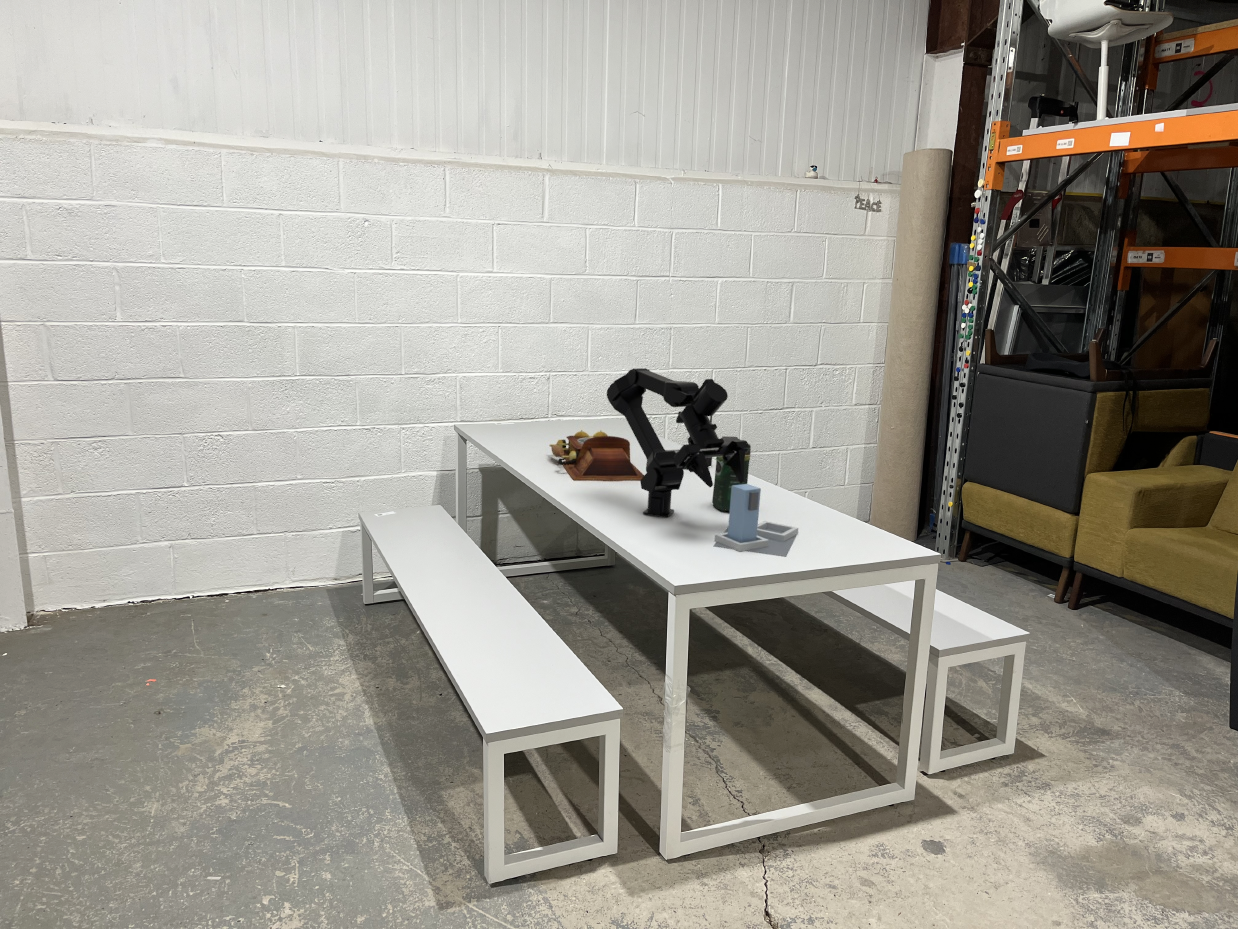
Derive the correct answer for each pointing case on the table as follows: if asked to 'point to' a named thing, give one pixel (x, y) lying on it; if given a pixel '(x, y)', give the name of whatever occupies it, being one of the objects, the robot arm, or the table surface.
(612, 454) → the brown wooden toy
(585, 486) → the table surface
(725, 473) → the coffee jar
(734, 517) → the plug
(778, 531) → the panel
